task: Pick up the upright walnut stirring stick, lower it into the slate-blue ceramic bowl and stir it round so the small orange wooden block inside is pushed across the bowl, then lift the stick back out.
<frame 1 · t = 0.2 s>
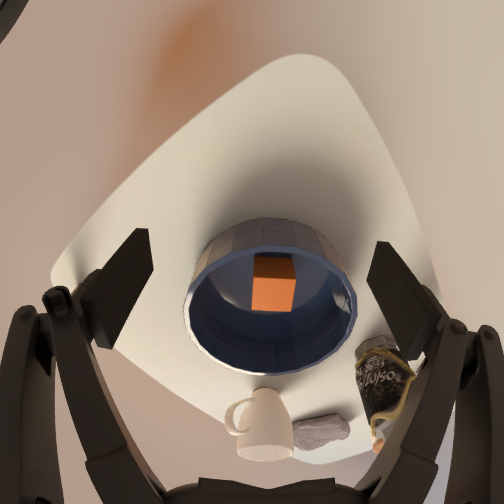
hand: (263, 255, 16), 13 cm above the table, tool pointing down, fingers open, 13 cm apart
stir bowl: (269, 288, 32), on the table
stone block: (316, 423, 49), on the table
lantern: (375, 349, 38), on the table
mug: (257, 389, 43), on the table
block: (271, 272, 31), point 1 cm above the table, touching stir bowl
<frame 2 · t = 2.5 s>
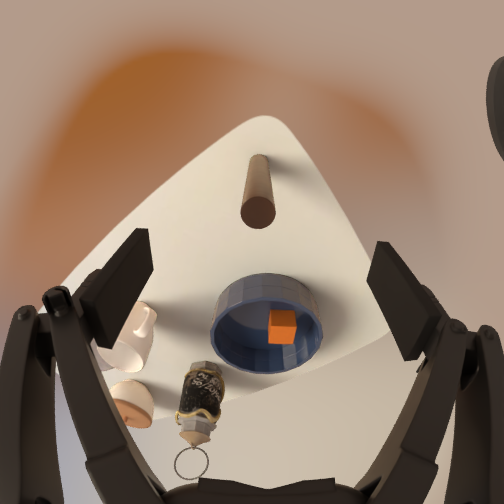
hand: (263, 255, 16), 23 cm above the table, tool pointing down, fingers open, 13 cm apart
stick: (258, 163, 35), on the table
lidded bowl: (135, 387, 61), on the table
stir bowl: (266, 315, 47), on the table
stone block: (100, 341, 53), on the table
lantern: (206, 370, 55), on the table
mug: (146, 304, 47), on the table
block: (281, 318, 47), point 1 cm above the table, touching stir bowl
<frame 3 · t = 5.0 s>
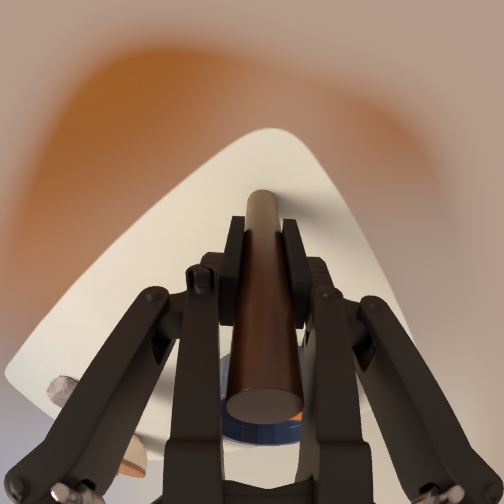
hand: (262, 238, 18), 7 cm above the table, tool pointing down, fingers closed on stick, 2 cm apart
stick: (262, 203, 23), on the table, touching gripper
lidded bowl: (126, 434, 50), on the table
stir bowl: (271, 385, 35), on the table
stone block: (81, 394, 42), on the table
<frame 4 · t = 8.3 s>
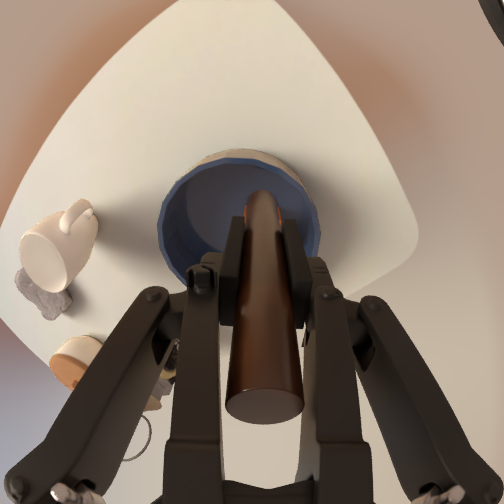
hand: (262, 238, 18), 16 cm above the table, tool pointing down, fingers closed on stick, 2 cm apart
stick: (261, 203, 23), point 10 cm above the table, touching gripper
lidded bowl: (93, 347, 49), on the table
stir bowl: (240, 218, 35), on the table
stone block: (49, 281, 41), on the table
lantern: (169, 315, 43), on the table
mug: (92, 214, 35), on the table
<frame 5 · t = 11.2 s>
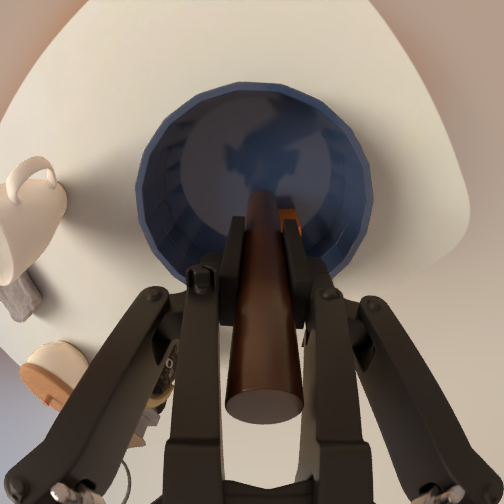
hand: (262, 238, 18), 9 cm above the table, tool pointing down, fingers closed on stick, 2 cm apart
stick: (262, 202, 23), point 2 cm above the table, touching gripper
lidded bowl: (71, 354, 39), on the table
stir bowl: (254, 185, 25), on the table
stone block: (17, 274, 31), on the table
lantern: (158, 318, 33), on the table
mug: (61, 186, 25), on the table
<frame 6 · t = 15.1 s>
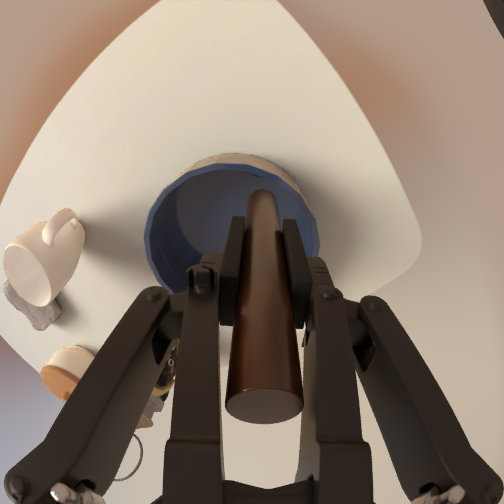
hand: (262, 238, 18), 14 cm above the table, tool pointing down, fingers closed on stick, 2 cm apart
stick: (262, 202, 23), point 8 cm above the table, touching gripper
lidded bowl: (85, 357, 46), on the table
stir bowl: (234, 227, 33), on the table
stone block: (38, 290, 39), on the table
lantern: (161, 327, 41), on the table
mug: (79, 222, 33), on the table
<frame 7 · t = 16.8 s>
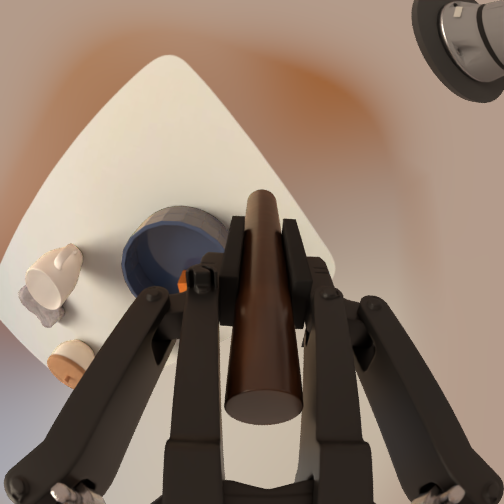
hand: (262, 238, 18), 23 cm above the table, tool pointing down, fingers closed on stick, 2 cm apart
stick: (261, 203, 23), point 17 cm above the table, touching gripper
lidded bowl: (82, 349, 59), on the table
stir bowl: (184, 256, 45), on the table
stone block: (46, 296, 51), on the table
mug: (78, 248, 45), on the table
block: (196, 279, 47), point 1 cm above the table, touching stir bowl
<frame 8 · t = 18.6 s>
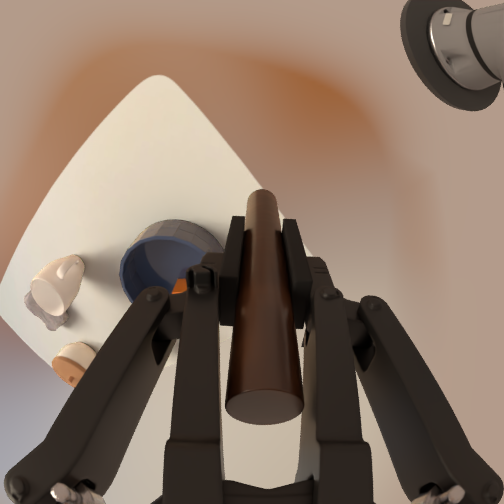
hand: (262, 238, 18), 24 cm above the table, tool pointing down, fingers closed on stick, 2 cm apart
stick: (262, 202, 23), point 18 cm above the table, touching gripper
lidded bowl: (85, 350, 62), on the table
stir bowl: (178, 266, 48), on the table
stone block: (50, 301, 54), on the table
mug: (80, 258, 48), on the table
block: (190, 287, 49), point 1 cm above the table, touching stir bowl
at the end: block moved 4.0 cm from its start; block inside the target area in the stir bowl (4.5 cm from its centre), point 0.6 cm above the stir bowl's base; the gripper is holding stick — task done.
